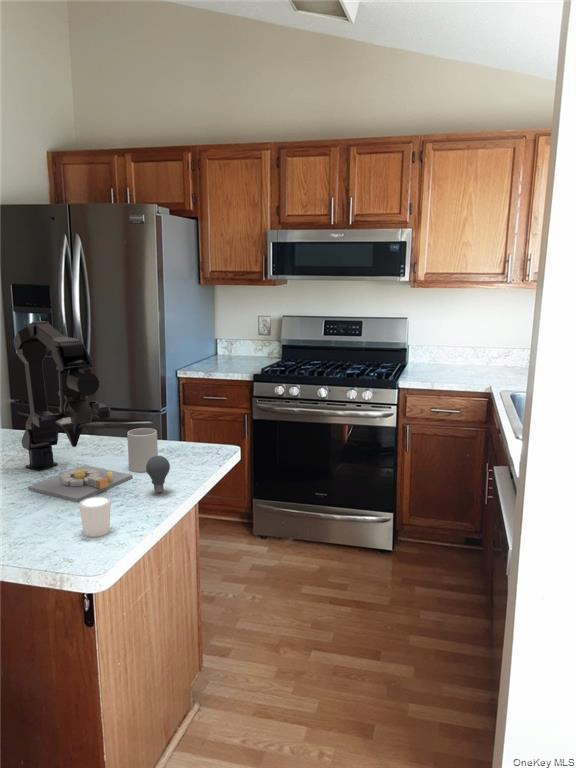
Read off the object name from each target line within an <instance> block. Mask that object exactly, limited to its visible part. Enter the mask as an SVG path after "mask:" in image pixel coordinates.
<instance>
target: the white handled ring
mask: <svg viewBox="0 0 576 768" xmlns="http://www.w3.org/2000/svg"><path fill="white" fill-rule="evenodd" d="M72 470H73V469H72ZM78 470H79V469H78ZM83 470H85V476H87V477H85V478H77V479H74V478H75V476H74V471H75V470H73V471H70V470H68V471H69V472H68V471H65V472H66V473H65V472H63V473H64V474H62V473H61V474H62V475H61V477H60V478H59V479H60V483H61V484H63V485H66V486H69V485H70V486H83V485H84V484H85V485H90V486H93V487H96V488H98V489H102V488H105V487H108V479H107V478H102V477H100V473H99V471H96V470H93V469H91V470H89V469H83Z"/></svg>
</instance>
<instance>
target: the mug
mask: <svg viewBox="0 0 576 768" xmlns="http://www.w3.org/2000/svg"><path fill="white" fill-rule="evenodd" d="M126 435H127V437H126V438H127V456H128V457H127V459H128V469H129V471H130V472H133V473H147V471H146V465H147V462H148V460H149V459H150V458H152V457H154V456H159V449H158V431H157V429H155V428H151V427H150V428H149V427H140V428H134V429H130V430H128V431H127V434H126Z"/></svg>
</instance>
